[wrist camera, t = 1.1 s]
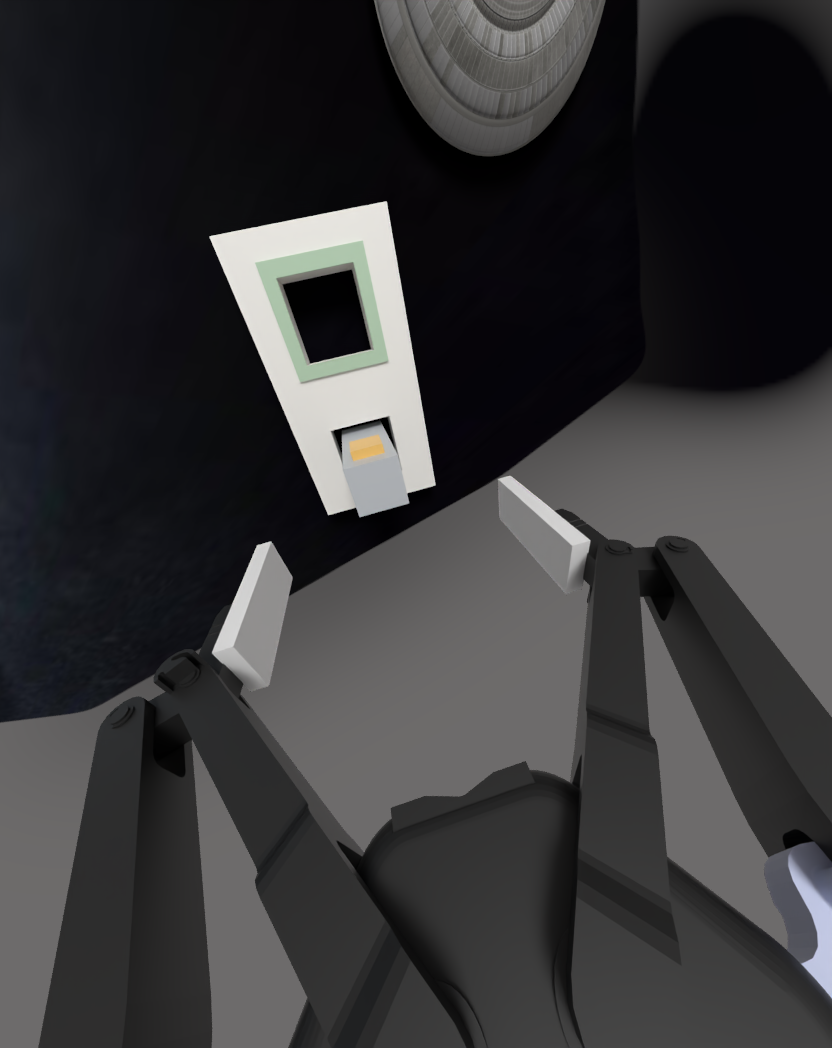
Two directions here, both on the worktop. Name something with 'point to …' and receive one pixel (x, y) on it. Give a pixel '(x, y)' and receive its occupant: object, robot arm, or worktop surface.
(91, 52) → the worktop surface
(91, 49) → the worktop surface
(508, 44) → the flying saucer
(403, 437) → the panel
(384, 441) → the plug
